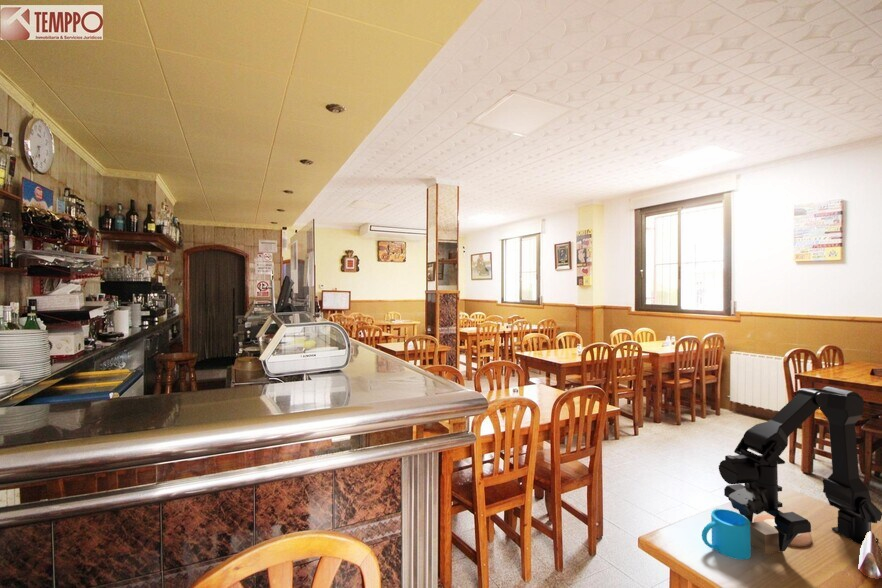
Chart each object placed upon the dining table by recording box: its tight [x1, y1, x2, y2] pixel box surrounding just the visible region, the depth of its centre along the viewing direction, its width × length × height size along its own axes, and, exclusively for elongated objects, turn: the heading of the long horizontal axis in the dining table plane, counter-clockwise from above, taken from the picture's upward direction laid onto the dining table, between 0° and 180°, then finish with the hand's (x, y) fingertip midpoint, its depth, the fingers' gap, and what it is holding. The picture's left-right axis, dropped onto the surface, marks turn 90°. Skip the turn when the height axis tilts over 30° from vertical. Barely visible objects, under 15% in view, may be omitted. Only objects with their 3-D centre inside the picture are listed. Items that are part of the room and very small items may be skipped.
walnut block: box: [750, 521, 782, 555], centre depth 102 cm, size 5×5×5 cm
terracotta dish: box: [753, 514, 813, 548], centre depth 108 cm, size 12×12×1 cm
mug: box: [701, 508, 752, 560], centre depth 102 cm, size 12×8×8 cm
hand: (764, 539), depth 102 cm, fingers open, 9 cm apart
